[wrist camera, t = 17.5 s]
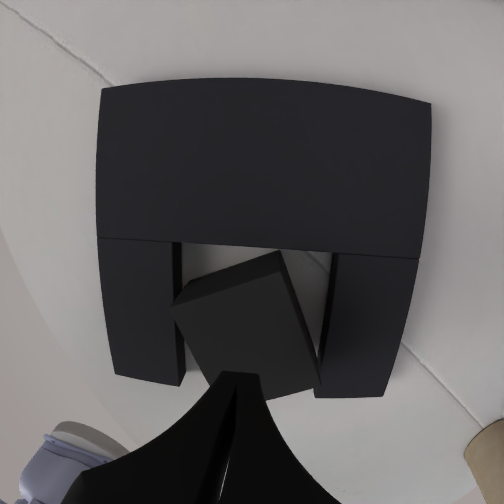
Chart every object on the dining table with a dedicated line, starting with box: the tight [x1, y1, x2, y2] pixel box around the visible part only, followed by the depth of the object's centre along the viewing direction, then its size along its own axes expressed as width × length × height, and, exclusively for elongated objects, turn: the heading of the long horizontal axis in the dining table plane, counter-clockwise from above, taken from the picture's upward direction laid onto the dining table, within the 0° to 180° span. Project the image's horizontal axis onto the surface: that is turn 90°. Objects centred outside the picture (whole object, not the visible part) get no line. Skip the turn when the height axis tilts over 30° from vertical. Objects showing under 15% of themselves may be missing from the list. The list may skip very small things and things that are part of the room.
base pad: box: [96, 78, 432, 398], centre depth 15 cm, size 16×16×2 cm
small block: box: [169, 250, 322, 401], centre depth 15 cm, size 6×5×4 cm
